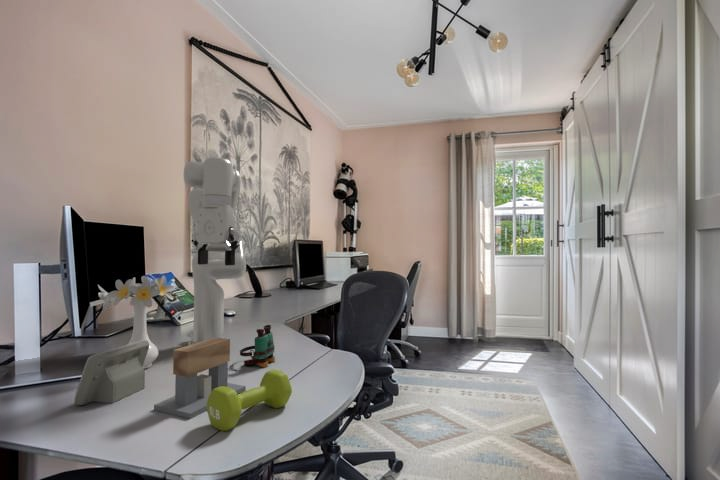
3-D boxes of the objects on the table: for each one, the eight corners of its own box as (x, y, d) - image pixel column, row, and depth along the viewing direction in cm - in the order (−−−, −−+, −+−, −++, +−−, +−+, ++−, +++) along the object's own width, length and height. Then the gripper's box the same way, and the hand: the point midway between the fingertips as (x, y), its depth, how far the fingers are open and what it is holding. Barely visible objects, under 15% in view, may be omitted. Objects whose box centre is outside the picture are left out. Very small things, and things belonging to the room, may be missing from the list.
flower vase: (93, 368, 104) (95, 276, 104) (167, 356, 115) (169, 273, 116) (98, 381, 94) (100, 279, 94) (179, 367, 105) (180, 276, 106)
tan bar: (173, 374, 79) (173, 349, 79) (216, 358, 90) (216, 337, 90) (187, 376, 77) (187, 352, 77) (229, 360, 88) (230, 339, 88)
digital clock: (135, 380, 95) (136, 337, 95) (161, 385, 91) (161, 341, 92) (63, 404, 80) (64, 353, 80) (89, 412, 77) (91, 358, 77)
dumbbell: (226, 438, 67) (226, 396, 67) (201, 425, 72) (202, 386, 72) (295, 407, 80) (295, 372, 80) (270, 398, 85) (271, 365, 85)
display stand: (153, 409, 78) (154, 375, 78) (212, 384, 92) (212, 355, 93) (190, 418, 74) (191, 382, 74) (245, 390, 89) (246, 360, 89)
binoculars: (247, 325, 115) (278, 323, 113) (249, 360, 115) (280, 359, 113) (231, 331, 106) (264, 329, 104) (234, 369, 106) (267, 368, 104)
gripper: (183, 202, 106) (182, 264, 106) (232, 200, 99) (231, 266, 99) (203, 205, 113) (202, 263, 113) (251, 203, 106) (250, 265, 106)
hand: (216, 264), depth 106 cm, fingers open, 9 cm apart
